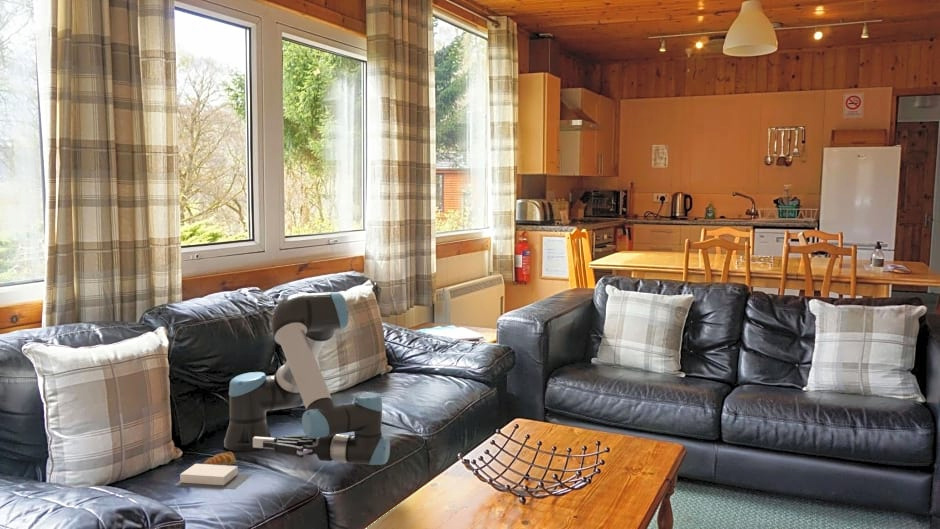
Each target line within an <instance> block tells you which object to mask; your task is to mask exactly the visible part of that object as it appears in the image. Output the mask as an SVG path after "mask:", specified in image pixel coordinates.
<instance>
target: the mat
mask: <svg viewBox="0 0 940 529" xmlns="http://www.w3.org/2000/svg"><path fill="white" fill-rule="evenodd" d="M251 476H253V474H251V473H240V472H239V473H238V474H237V475H236V476H235V477H234V478H232V479H231V480H230V481H229V482H227V483H226V484H225V485H222V486H218V485H202V484H187V483H181V482H180V480H179V481H178V482H176V483H174V486H176V487H177V486H178V487H179V486H180V487H194V488H195V487H196V488H209V489H225V490H237V488H238V487H240V486H241V485H242V484H243V483H244V482H245V481H247V480H248V479H249V478H250V477H251Z"/></svg>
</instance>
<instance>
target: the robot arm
mask: <svg viewBox="0 0 940 529" xmlns="http://www.w3.org/2000/svg"><path fill="white" fill-rule="evenodd" d="M349 317H350V316H349V308H348V304H347V300H346V298H345V297H344V296H343V294H342V293H340V292H337V291H336V292H332V291H328V292H313V293H312V292H311V293H296V294H291V295H289V296H287V297H284V298H283V299H281V301H280V302H278V304H277V306H276V307H275V308H274V311H273V313H272V318H271V332H272V336H273V339H274V341H275V342H276V344H278V345H280V346H281V349H282V351H283V354H284V357H285V358H286V361H285V363H284V364H283V365H281V366H280V367H278V369H277V370H276V372H275V374H273V375H266V373H265V372H262V371H254V372H253V371H252V372H247V373H246V372H245V373H242V374H239V375H236V376H235V377H233V378H231V380H230V381H229V388H228V398H229V399H228V400H229V401H228V402H229V407H228V408H229V424H228V427H227V430H226V433H225V437H224V439H223V444H224V445H223V447H224V448H225V449H227V450H229V451H231V452H232V451H234V452H251V451H258V450H262V448H263V449H268V450H269V449H270V450H273V452H274V453H277V454H282V455H288V456H294V457H298V458H299V459H302V458H304V455H306V456H313V455H316V456H317V459H318V460H319V461H323V462H332V461H334V462H338V463H342V464H346V463H353V464H361V465H362V464H363V465H371V466H372V465H374V466H375V465H378V466H379V465H385V464H386V463H387V462H388V460H389V458H390V453H391V444H390V443H391V442H390V439H389V438H388V437H387V436H383V434H382V432H383V431H382V422H383V419H382V418H383V401H382V397H381V396H380V394H378V393H374V392H362V393H359V394H356V395H355V397H354V400H353V403H347V404H340V405H335V402H334V400H333V398H332V396H331V393H330V390H329V388H328V386H327V383H326V381H325V379H324V377H323V376H324V375H323V373H322V371H321V369H320V366H319V364H318V362H317V359H318V358H319V355H320V353H321V351H322V348H323V347H324V344H325V343H326V342H328V341H330V340H331V339H332V338H333V337H334V335H335V333H336V331H337V330H340V331H342V330H343V329H346V328H347V327H348V324H349V319H350V318H349ZM302 406H304V408H305V411H304V412H303V413H302V417H301V424H302V431H303V433H304V435H303V434H302V435H300V434H299V435H282V436H279V437H272V434H271V430H270V428H269V425H268V422H267V412H270V411H276V410H277V411H278V410H285V409H292V408H293V409H294V408H299V407H302ZM352 432H353V433H354V435H353V434H347V433H352Z"/></svg>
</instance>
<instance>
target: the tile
mask: <svg viewBox="0 0 940 529" xmlns="http://www.w3.org/2000/svg"><path fill="white" fill-rule="evenodd" d="M238 467H239V466H238V465H228V466H226V465H210V464H203V463H194V464H193V465H191V466H190V467H189V468H187V469H186V470H184V471H183V472H181V473H180V474H179V478H180V479H179V481H180V482H181V483H187V484H202V485H218V486H222V485H225V484H226V483H227V482H229V481H230V480H231V479H232V478H234V477H235V476H236V475H237V474H238V472H239V468H238Z"/></svg>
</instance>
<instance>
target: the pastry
mask: <svg viewBox="0 0 940 529" xmlns="http://www.w3.org/2000/svg"><path fill="white" fill-rule="evenodd" d="M202 464H210V465H226V466H233V465H236V464H237V460H236V457H235V455H234V453H233V452H232V451H227V452H221V453H217V454H215V455H214V456H213V457H209V458H208V459H206V460H205V461H204V462H203V463H202Z"/></svg>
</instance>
